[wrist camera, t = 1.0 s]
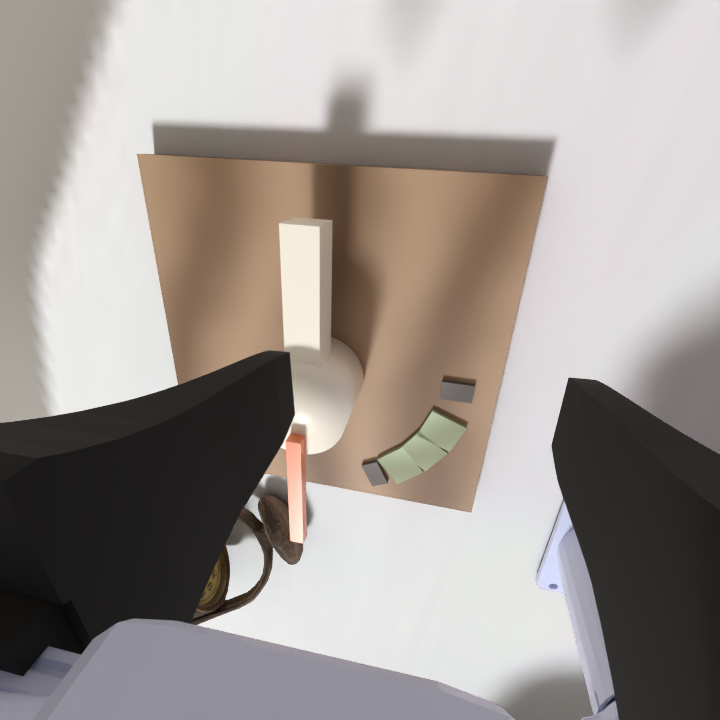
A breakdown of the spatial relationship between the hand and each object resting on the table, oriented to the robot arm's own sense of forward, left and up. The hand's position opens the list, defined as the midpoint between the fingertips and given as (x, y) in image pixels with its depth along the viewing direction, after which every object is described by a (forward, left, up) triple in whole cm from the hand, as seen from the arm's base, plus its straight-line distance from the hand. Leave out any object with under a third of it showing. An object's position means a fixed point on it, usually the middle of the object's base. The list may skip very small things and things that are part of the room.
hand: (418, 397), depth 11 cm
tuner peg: (+5, +5, -9) cm, 12 cm away
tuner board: (+5, +4, -10) cm, 12 cm away
